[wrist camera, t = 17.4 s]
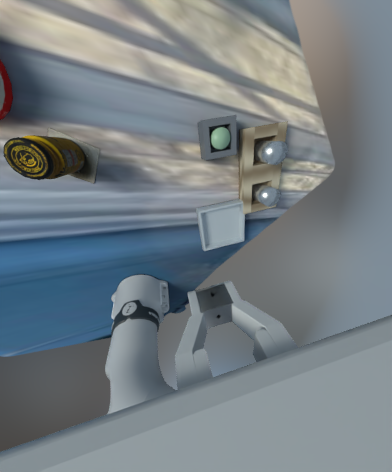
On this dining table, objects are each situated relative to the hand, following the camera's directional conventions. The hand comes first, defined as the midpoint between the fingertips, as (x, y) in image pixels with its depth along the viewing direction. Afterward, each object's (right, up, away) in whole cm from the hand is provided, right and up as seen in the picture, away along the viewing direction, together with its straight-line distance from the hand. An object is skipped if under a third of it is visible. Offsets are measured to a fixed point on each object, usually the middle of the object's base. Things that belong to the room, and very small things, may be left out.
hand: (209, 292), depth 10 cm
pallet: (+15, +21, +31) cm, 40 cm away
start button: (+4, +25, +24) cm, 35 cm away
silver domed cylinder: (+16, +16, +33) cm, 40 cm away
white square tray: (+6, +7, +37) cm, 38 cm away
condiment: (-26, +20, +21) cm, 39 cm away
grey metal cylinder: (+15, +25, +28) cm, 40 cm away
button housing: (+3, +26, +25) cm, 36 cm away
